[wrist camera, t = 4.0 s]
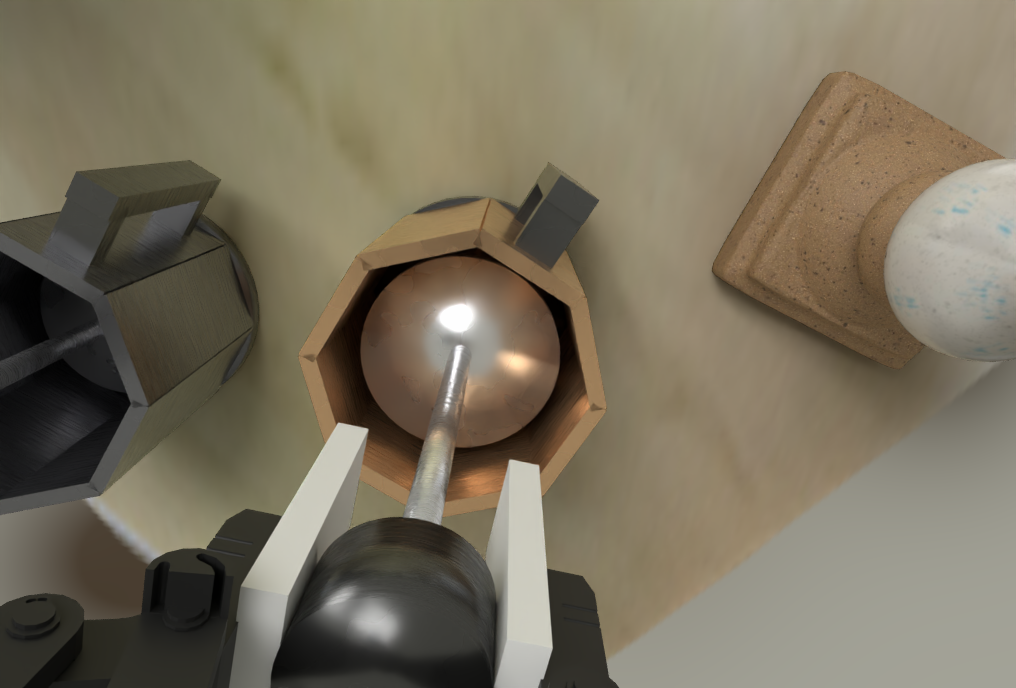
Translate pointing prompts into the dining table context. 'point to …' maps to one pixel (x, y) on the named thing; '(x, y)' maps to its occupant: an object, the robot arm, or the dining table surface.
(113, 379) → the steel plunger
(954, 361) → the dining table surface
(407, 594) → the copper plunger
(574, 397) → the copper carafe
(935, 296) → the candle holder
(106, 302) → the steel carafe
